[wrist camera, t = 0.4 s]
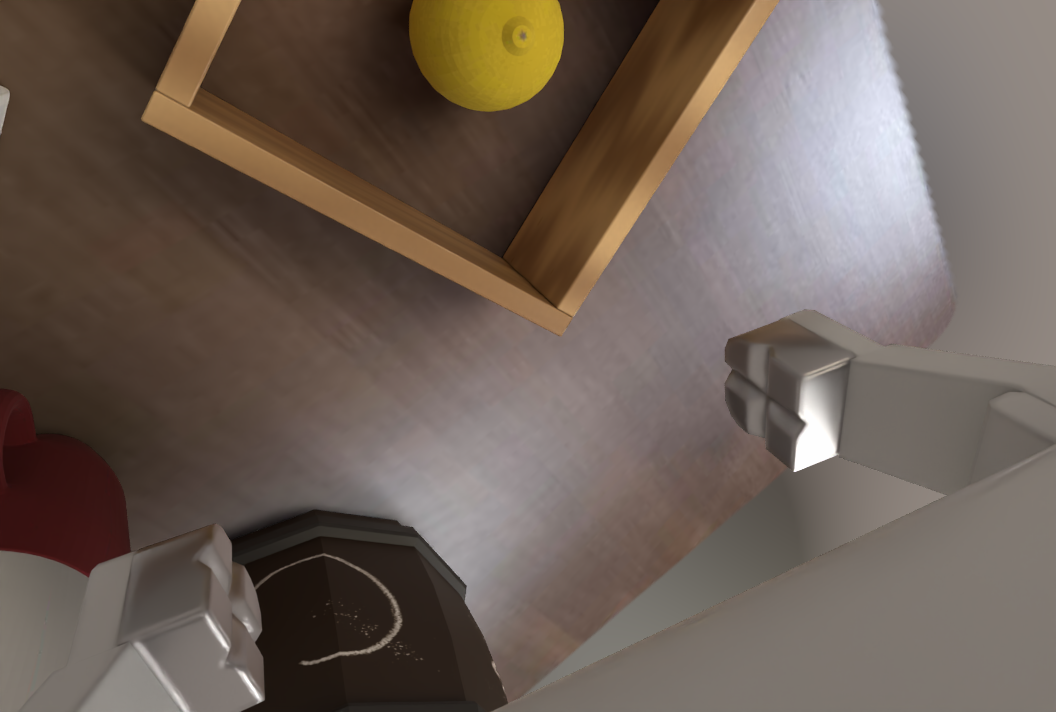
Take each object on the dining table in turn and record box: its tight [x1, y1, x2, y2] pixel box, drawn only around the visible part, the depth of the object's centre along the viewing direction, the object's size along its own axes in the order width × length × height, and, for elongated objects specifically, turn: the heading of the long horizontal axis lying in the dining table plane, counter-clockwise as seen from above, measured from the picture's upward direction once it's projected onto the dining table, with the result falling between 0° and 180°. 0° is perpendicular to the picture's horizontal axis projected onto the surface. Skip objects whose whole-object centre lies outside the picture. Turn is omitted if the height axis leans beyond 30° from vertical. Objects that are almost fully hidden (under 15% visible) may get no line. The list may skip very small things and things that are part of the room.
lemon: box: [409, 0, 564, 112], centre depth 25 cm, size 6×6×8 cm
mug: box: [0, 389, 131, 712], centre depth 25 cm, size 11×8×10 cm
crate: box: [141, 0, 779, 336], centre depth 25 cm, size 17×17×7 cm
